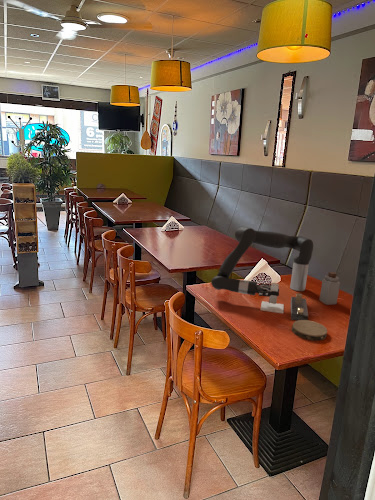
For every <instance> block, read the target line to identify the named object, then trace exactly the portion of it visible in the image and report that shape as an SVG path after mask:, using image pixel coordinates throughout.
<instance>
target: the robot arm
mask: <svg viewBox="0 0 375 500" xmlns="http://www.w3.org/2000/svg"><path fill="white" fill-rule="evenodd" d="M234 237H235V239H236V241H238V244H237V246H236V247H235V248H234V249H233V250H232V251H231V252H230V253H229V254H228V255H227V256H226V258H225V259H224V260H223V262H222V264H221V265H220V267H219V271H218V272H217V274H216V276H214V277H213V278H212V279H211V280H210V281H211V286H212V287H213V288H214V289H215V290H218V291H220V290H225V291H230V292H233V293H239V294H242V295H249V296H256V294H258V296H259V297H270V296H271V295H274V296H277V297H279V295H280V288H279V287H278V292H276V291H270V289H271V284H266V283H265V284H264V283H260V284H259V285H258V282H257V281H252V280H246V279H244V280H243V279H236V278H229V277H230V276H231V275H232V273H233V271H234V269H235V268H236V265H238V262H239V261H240V259H241V258H242V257H243V255H244V254H245V253H246V252H247V250H248V249H249V248H251V247H250V246H251V245H252V244H253V243H254V244H258V245H260V246H263V247H264V246H265V247H268V248H272V249H273V248H274V249H283V248H289V249H293V250H296V251H298V252H299V254H298V256H294V258H293V265H292V272H291V278H290V279H291V280H290V285H289V288H290V289H291V290H293V291H296V292H304V291H305V290H306V284H307V278H308V271H309V266H310V261H311V259H312V255H313V251H314V242H313V240H312V239H310V238H307V237H304V236H300V235H299V236H298V235H297V236H295V235H287V234H284V233H281V232H276V231H268V230H267V231H266V230H255V229H253V228H251V227H248V226H247V227H246V226H241V227H239V228H237V229H236V230H235V233H234Z"/></svg>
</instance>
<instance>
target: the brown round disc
mask: <svg viewBox="0 0 375 500" xmlns="http://www.w3.org/2000/svg"><path fill="white" fill-rule="evenodd" d="M291 332H292V333H293V334H294V335H295V336H297V337H298V338H301V339H303V340H307V341H314V342H316V341H319V342H320V341H323V340H325V339H326V338H327V336H328V335H327V334H328V328H327V327H325V326H324V325H323V324H321V323H320V322H316V321H312V320H298V321H297V320H294V321H293V322H292V327H291Z"/></svg>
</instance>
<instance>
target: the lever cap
mask: <svg viewBox="0 0 375 500" xmlns="http://www.w3.org/2000/svg"><path fill="white" fill-rule="evenodd" d="M270 283H271V284H270V285H271V289H270V291H276V292H278V288H279V286H280V285H279V283H275V282H270ZM277 301H278V296H274V295H271V296H270V297H269V298H268V302H269V303H273V304H276V303H277Z"/></svg>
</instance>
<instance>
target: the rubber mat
mask: <svg viewBox="0 0 375 500" xmlns="http://www.w3.org/2000/svg"><path fill="white" fill-rule="evenodd" d="M284 306H285V305H284V303H277V302H276V304H273V303H269V301H263V300H262V301H261V305H260V311H262V312H271V313H277V314H284V308H285V307H284Z"/></svg>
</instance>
